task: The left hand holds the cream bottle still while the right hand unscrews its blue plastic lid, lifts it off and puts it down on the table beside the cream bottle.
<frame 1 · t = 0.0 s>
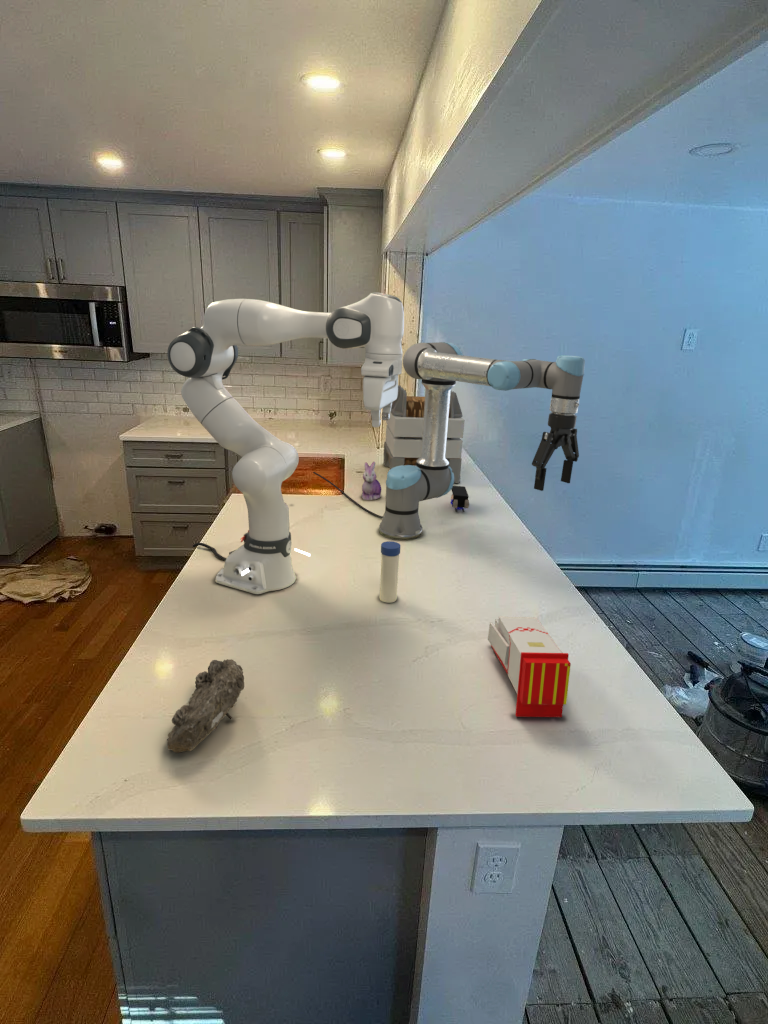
left hand: (381, 423, 140), 48 cm above the counter, tool pointing down, fingers open, 8 cm apart
right hand: (552, 485, 166), 28 cm above the counter, tool pointing down, fingers open, 13 cm apart
figurine: (371, 497, 237), on the counter
fossil: (212, 717, 108), on the counter
grey storage crate: (419, 473, 275), on the counter
lid: (390, 546, 150), point 16 cm above the counter, screwed on, not yet turned
toy: (520, 675, 125), on the counter
cream bottle: (388, 598, 155), on the counter
figurine character: (458, 508, 229), on the counter
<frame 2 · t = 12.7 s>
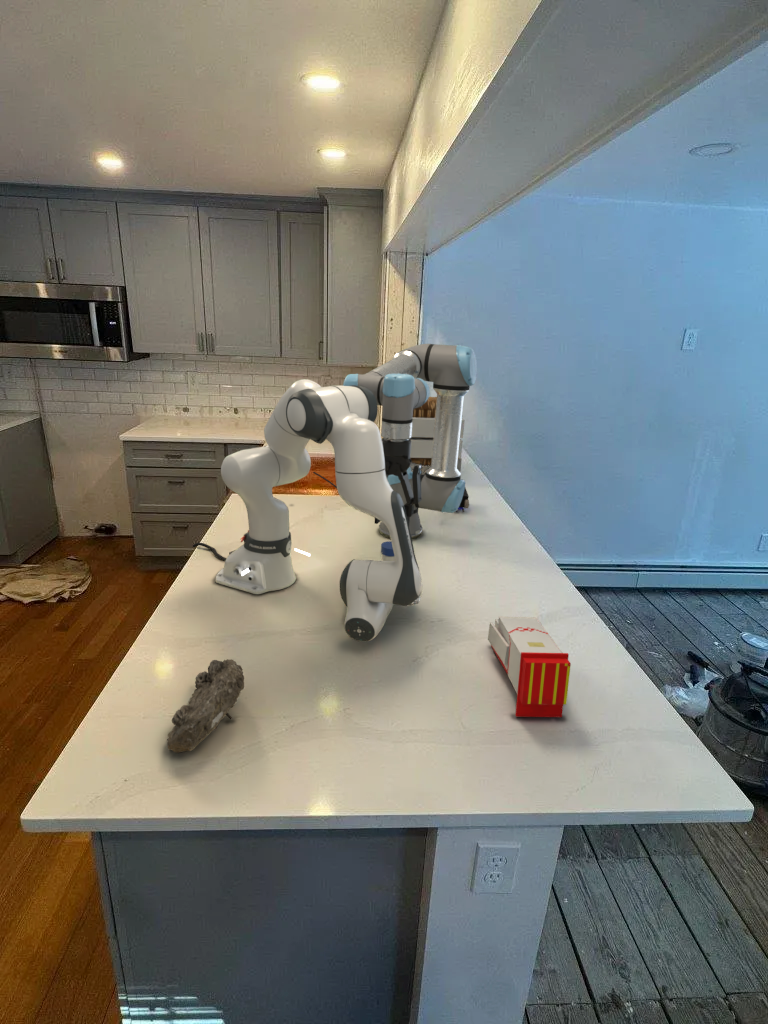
left hand: (389, 574, 154), 7 cm above the counter, tool horizontal, fingers closed on cream bottle, 5 cm apart
right hand: (391, 524, 148), 22 cm above the counter, tool pointing down, fingers open, 7 cm apart
cream bottle: (388, 598, 155), on the counter, touching left hand
everything else where it was.
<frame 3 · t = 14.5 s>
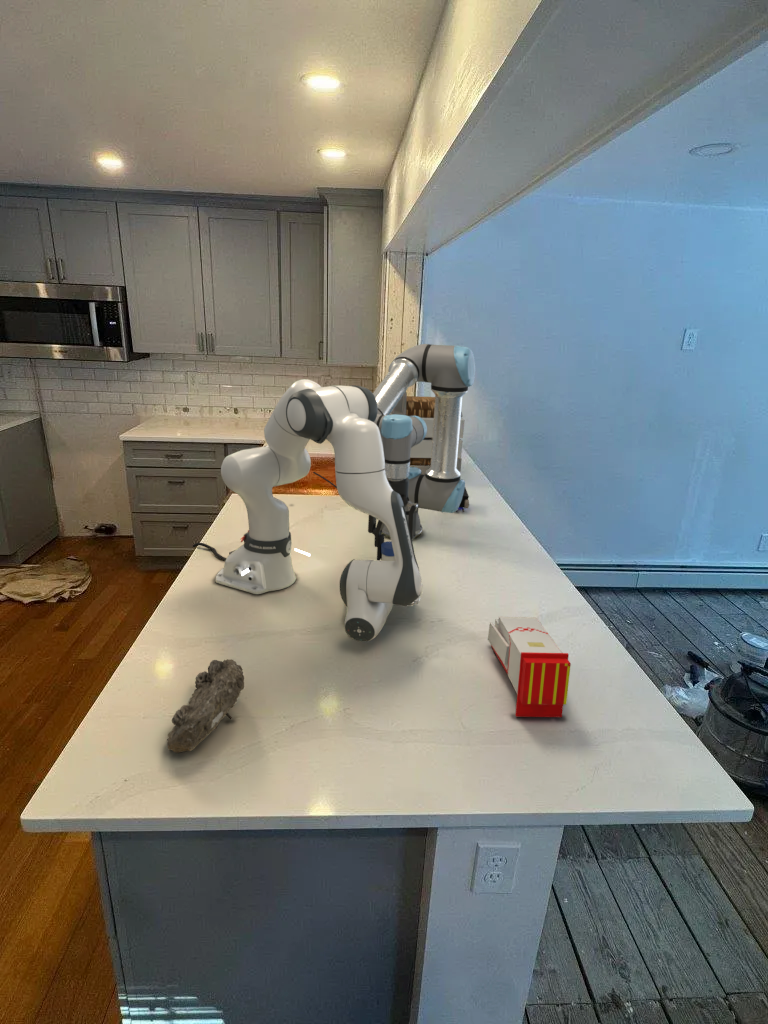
left hand: (389, 574, 154), 7 cm above the counter, tool horizontal, fingers closed on cream bottle, 5 cm apart
right hand: (390, 560, 151), 11 cm above the counter, tool pointing down, fingers closed on lid, 5 cm apart
lid: (390, 546, 150), point 16 cm above the counter, screwed on, not yet turned, touching right hand
cream bottle: (388, 598, 155), on the counter, touching left hand
everything else where it was.
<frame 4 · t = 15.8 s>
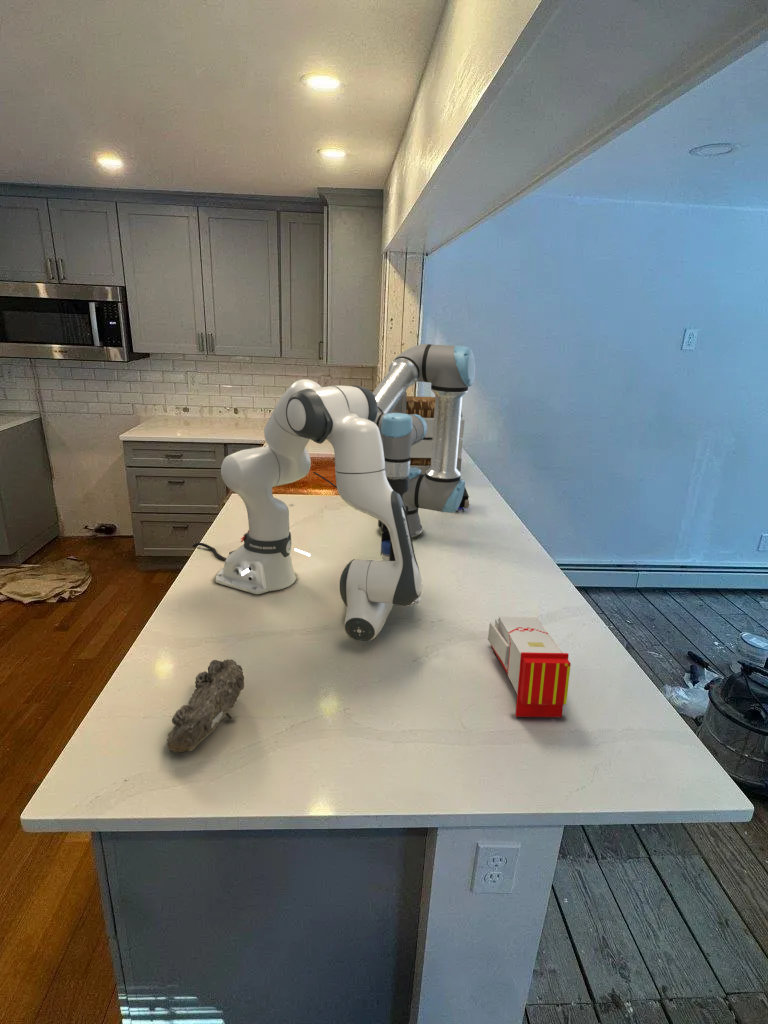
left hand: (389, 574, 154), 7 cm above the counter, tool horizontal, fingers closed on cream bottle, 5 cm apart
right hand: (390, 559, 151), 12 cm above the counter, tool pointing down, fingers closed on lid, 5 cm apart
lid: (390, 544, 150), point 16 cm above the counter, off its thread, touching right hand
cream bottle: (388, 598, 155), on the counter, touching left hand
everything else where it was.
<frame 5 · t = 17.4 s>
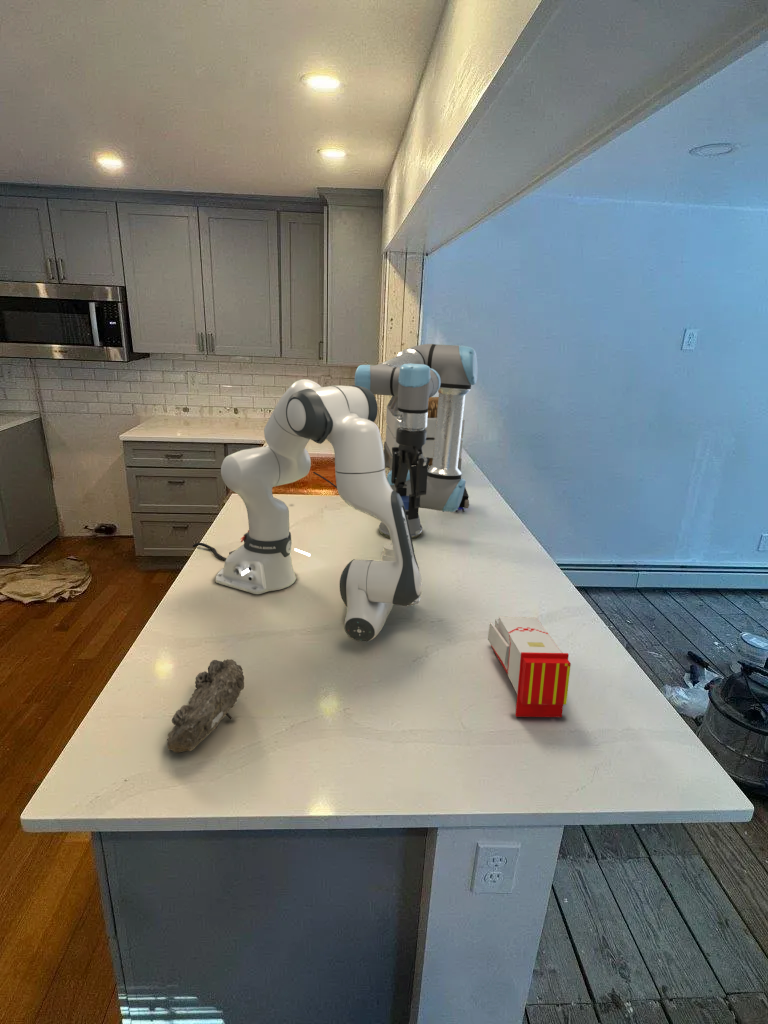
left hand: (389, 574, 154), 7 cm above the counter, tool horizontal, fingers closed on cream bottle, 5 cm apart
right hand: (406, 514, 150), 24 cm above the counter, tool pointing down, fingers closed on lid, 5 cm apart
lid: (407, 500, 148), point 28 cm above the counter, off its thread, touching right hand
cream bottle: (388, 598, 155), on the counter, touching left hand
everything else where it was.
when the right hand's fingers open (0 cm above the counter, at t = 21.2 s): lid drops 1 cm, point 2 cm above the counter.
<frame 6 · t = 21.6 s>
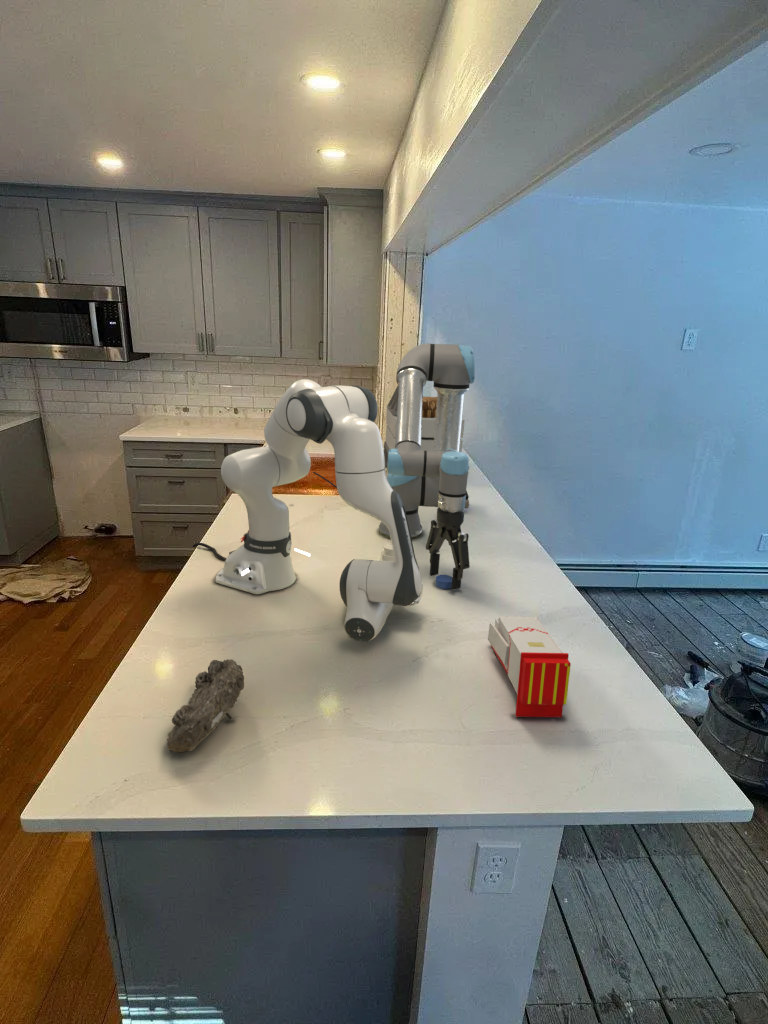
left hand: (389, 574, 154), 7 cm above the counter, tool horizontal, fingers closed on cream bottle, 5 cm apart
right hand: (444, 581, 164), 1 cm above the counter, tool pointing down, fingers open, 9 cm apart
lid: (444, 579, 164), point 2 cm above the counter, off its thread
cream bottle: (388, 598, 155), on the counter, touching left hand
everything else where it was.
when the left hand's fingers open (7 cm above the counter, at t = 22.1 s): cream bottle stays where it is, on the counter.
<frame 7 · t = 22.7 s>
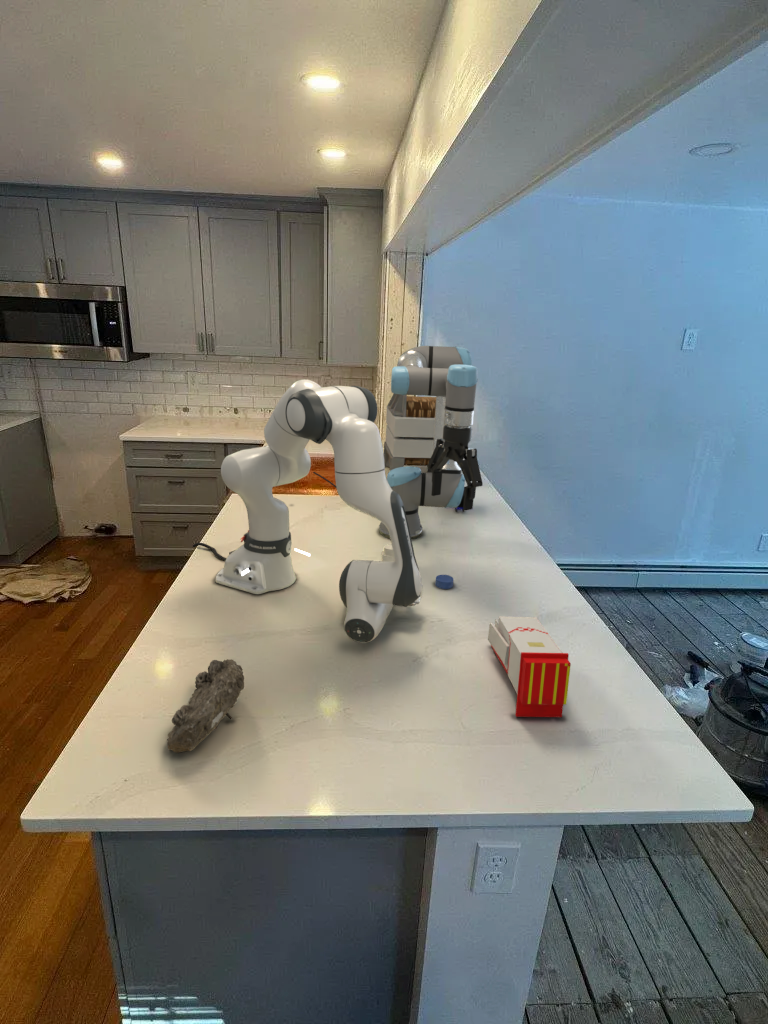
left hand: (389, 575, 153), 7 cm above the counter, tool horizontal, fingers open, 8 cm apart
right hand: (451, 502, 156), 25 cm above the counter, tool pointing down, fingers open, 13 cm apart
cream bottle: (388, 598, 155), on the counter
everything else where it was.
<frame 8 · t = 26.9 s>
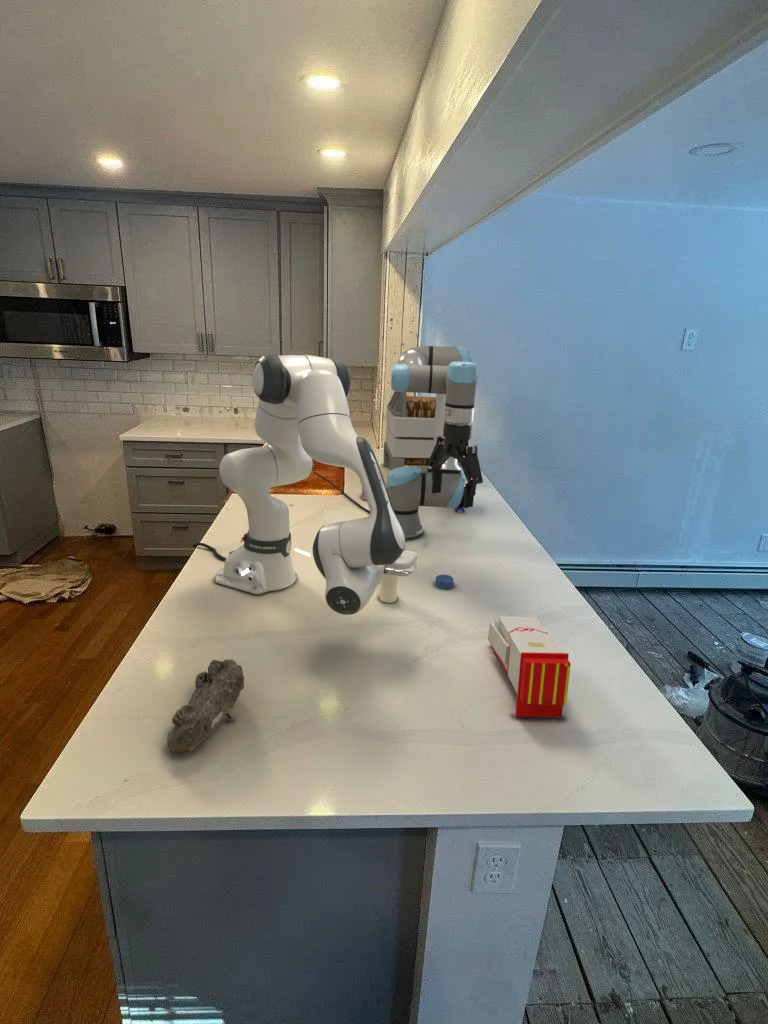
left hand: (380, 545, 137), 21 cm above the counter, tool horizontal, fingers open, 8 cm apart
right hand: (451, 499, 156), 26 cm above the counter, tool pointing down, fingers open, 13 cm apart
nothing on the counter moved.
at the end: lid came off its thread; lid point 1.8 cm above the counter; the left hand is holding nothing; the right hand is holding nothing; cream bottle tilted 0°; cream bottle moved 0.0 cm from its start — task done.
